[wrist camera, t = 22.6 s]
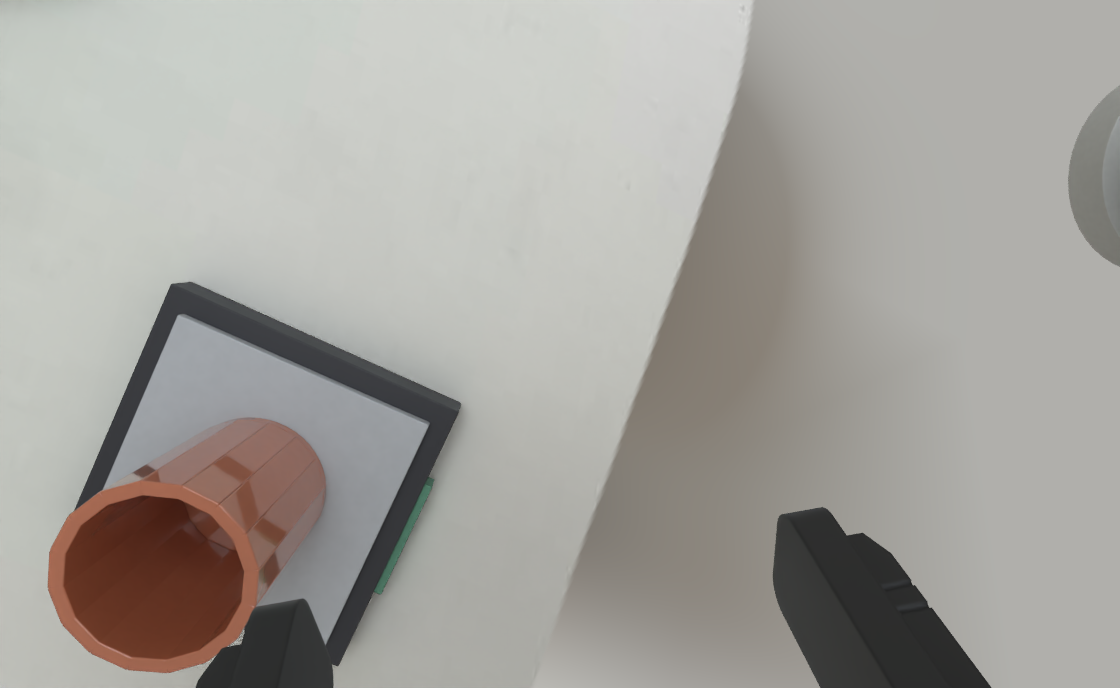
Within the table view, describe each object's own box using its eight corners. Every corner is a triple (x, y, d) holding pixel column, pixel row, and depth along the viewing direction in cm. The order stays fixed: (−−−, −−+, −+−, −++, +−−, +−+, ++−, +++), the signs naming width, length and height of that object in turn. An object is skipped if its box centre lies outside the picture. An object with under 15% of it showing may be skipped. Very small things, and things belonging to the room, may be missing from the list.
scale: (468, 406, 34) (465, 418, 32) (354, 646, 36) (342, 677, 33) (191, 281, 33) (164, 283, 30) (79, 539, 34) (45, 563, 31)
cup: (261, 388, 31) (163, 441, 22) (356, 497, 32) (299, 592, 23) (146, 476, 31) (2, 565, 22) (244, 583, 32) (144, 710, 23)
